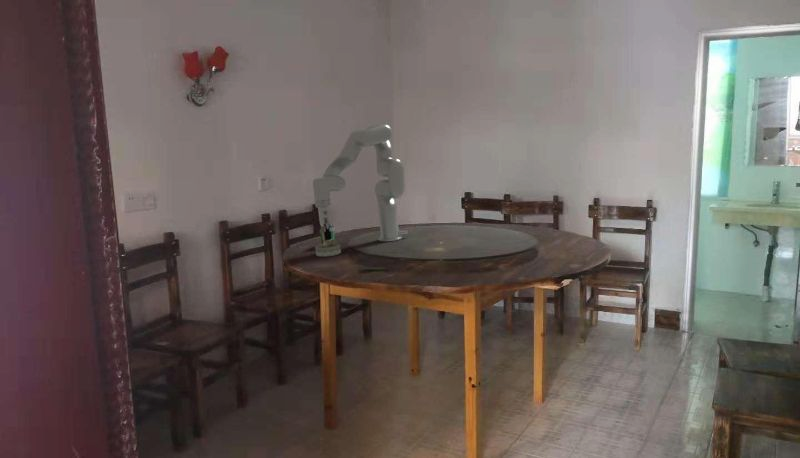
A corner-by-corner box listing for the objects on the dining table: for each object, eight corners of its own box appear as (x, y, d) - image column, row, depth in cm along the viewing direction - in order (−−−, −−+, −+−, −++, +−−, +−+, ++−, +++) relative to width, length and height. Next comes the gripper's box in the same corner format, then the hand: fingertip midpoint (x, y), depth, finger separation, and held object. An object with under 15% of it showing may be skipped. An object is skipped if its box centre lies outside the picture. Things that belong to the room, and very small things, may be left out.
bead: (338, 249, 316) (337, 242, 315) (342, 254, 304) (341, 246, 303) (315, 253, 313) (314, 245, 312) (317, 257, 301) (317, 249, 301)
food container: (333, 248, 322) (330, 228, 320) (321, 248, 323) (319, 229, 322) (340, 243, 334) (337, 224, 332) (329, 243, 335) (326, 225, 333)
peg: (332, 252, 311) (329, 224, 309) (333, 253, 307) (330, 225, 305) (324, 253, 310) (320, 225, 308) (325, 254, 306) (321, 226, 304)
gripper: (333, 204, 297) (337, 239, 300) (328, 200, 313) (331, 234, 316) (317, 206, 295) (321, 241, 298) (313, 202, 312) (317, 236, 315)
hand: (326, 238), depth 307 cm, fingers open, 9 cm apart
